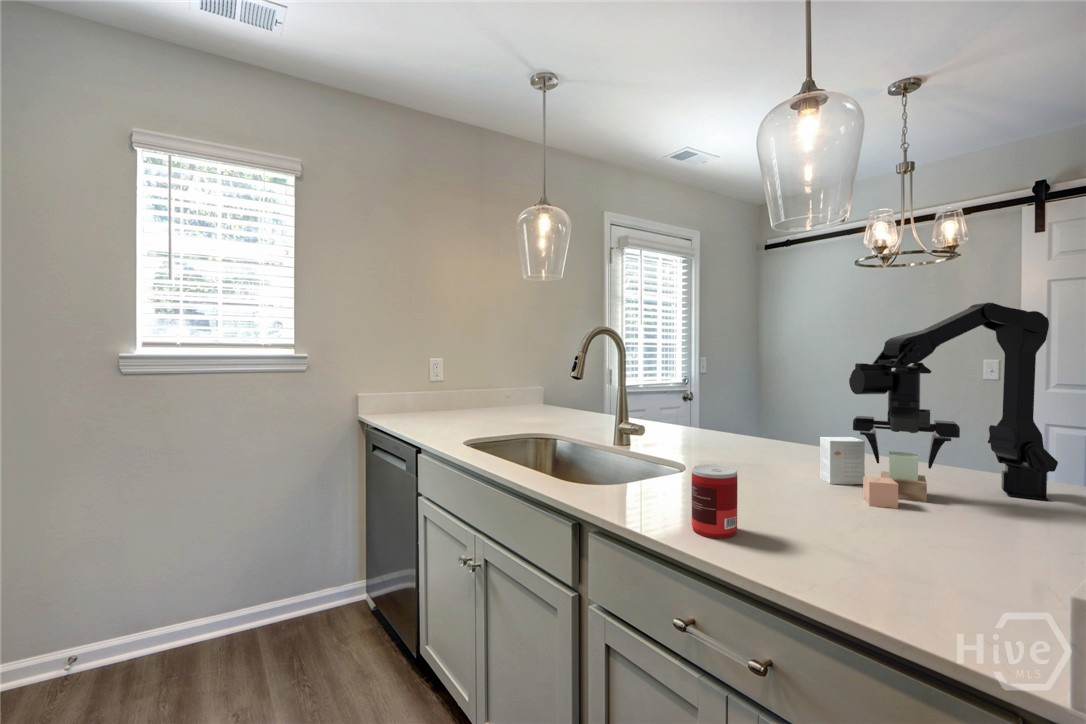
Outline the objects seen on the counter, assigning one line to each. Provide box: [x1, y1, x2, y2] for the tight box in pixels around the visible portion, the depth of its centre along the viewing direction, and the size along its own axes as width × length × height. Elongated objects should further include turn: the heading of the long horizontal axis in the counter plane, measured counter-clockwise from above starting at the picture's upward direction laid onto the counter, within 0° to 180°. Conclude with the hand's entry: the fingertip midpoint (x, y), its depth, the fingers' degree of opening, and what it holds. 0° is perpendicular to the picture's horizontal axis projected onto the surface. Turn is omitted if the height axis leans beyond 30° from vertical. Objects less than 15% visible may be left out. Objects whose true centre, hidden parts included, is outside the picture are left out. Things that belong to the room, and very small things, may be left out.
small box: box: [819, 436, 866, 485], centre depth 124 cm, size 8×6×10 cm
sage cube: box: [888, 450, 919, 481], centre depth 112 cm, size 5×5×5 cm
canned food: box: [691, 464, 739, 539], centre depth 91 cm, size 8×8×11 cm
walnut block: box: [880, 470, 928, 503], centre depth 112 cm, size 8×8×4 cm
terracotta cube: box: [862, 476, 899, 509], centre depth 106 cm, size 5×5×5 cm
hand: (903, 465), depth 112 cm, fingers open, 9 cm apart
